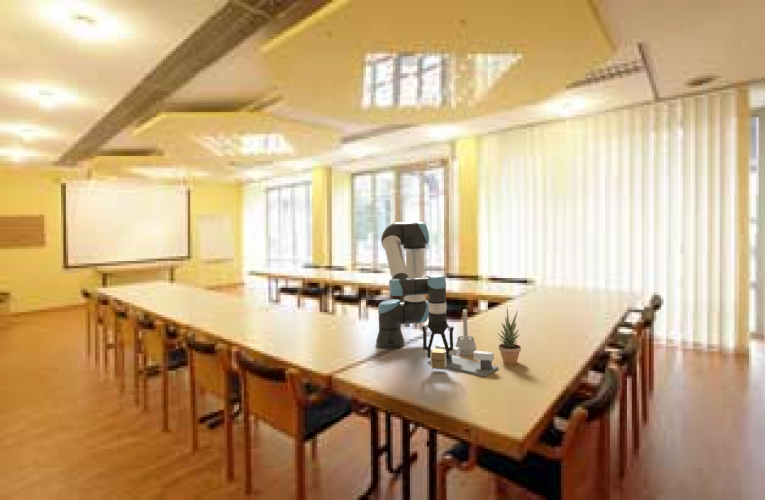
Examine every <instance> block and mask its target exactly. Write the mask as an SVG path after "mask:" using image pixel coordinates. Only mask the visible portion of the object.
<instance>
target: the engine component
mask: <svg viewBox="0 0 765 500" xmlns="http://www.w3.org/2000/svg"><path fill="white" fill-rule="evenodd" d="M462 325H463V326H462V327H463V331H462V332H463V335H459V336H458V337H457V341H456V342H455V343H456V344H455V347H458V348H460V355H466V356H467V355H473V353H474V351H477V344H476V342H475V337H474V336H471V335H468V309H462Z"/></svg>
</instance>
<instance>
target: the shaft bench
mask: <svg viewBox="0 0 765 500" xmlns="http://www.w3.org/2000/svg"><path fill="white" fill-rule="evenodd" d="M479 361H480V362H478V361H476V360H474V361H473V360H470V359H465V358H461V357H457V356H453V355H449V359H447V366H446V367H444V369H449V370H454V371H458V372H461V373H465V374H469V375H470V374H471V375H475V376H477V377H478V376H479V377H482V378H485V377H487V376H488V375H491V374H492V373H493V372H495V371H497V370H499V366H497V365H493V363H492V362H493V361H483V360H479ZM427 363H428V364H429V365H430V360H429V361H428V362H427Z"/></svg>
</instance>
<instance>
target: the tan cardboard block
mask: <svg viewBox="0 0 765 500" xmlns="http://www.w3.org/2000/svg"><path fill="white" fill-rule="evenodd" d="M431 350H432V367H431V368H432V369H433V370H434V369H435V370H436V369H437V370H445V364H444V351H445V349H435V348H432V349H431Z"/></svg>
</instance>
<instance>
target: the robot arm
mask: <svg viewBox="0 0 765 500" xmlns="http://www.w3.org/2000/svg"><path fill="white" fill-rule="evenodd" d="M429 233H430V232H429V229H428V226H427V224H426V223H425V222H423V221H407V222H406V221H404V222H402V221H401V222H399V221H398V222H393V223H391V224H389V225H388V226H387V227H386V228H385V229H384V231H383V233H382V235H381V239H380V240H381V247H382V248H383V249H384V250H385V254H386V260H387V264H388V269H389V271H390V276H391V279H390V280H389V281H388V289H389V294H390V295H391V296H392V297H403V301H402V302H401V300H400V299H388V300H384V301H381V302H380V303H379V304H378V305H377V306H378V307H377V308H378V309H377V314H378V333H377V337H376V340H375V342H376V343H375V345H376V347H378V348H381V349H397V348H401V347H403V346H405V338H404V335H403V332H402V327H401V326H402V325H409V324H412V325H413V324H417V325H418V324H421V323H426V322H427V321H428V323H427V324H425V325H424V324H423V325H422V326H421V331H422V336H423V337H422V348H423V349H422V350H424V351H427V359H429V361H430V364H429V365H430V367H431V368H432V350H433V349H431V348H432V345H433V341H434V336H435V335H440V336H441V339H442V342H443V343H442V344H443V345H444V346H445V349H446V350H445V351H444V364H445V367H446V366H447V359H449V351H452V350H453V347H454V333H453V332H454V330H455V329H454V328H455V327H454V326H453V325H449V324H448V322H447V319H448V318H447V281H446V276H444V275H441V274H432V275H426V276H424V275H423V274H424V273H423V272H424V269H423V267H424V266H423V264H424V263H423V261H424V260H423V251H424V250H425V249H426V245H429V242H430V234H429ZM401 246H402V248H403V250H405V253H406V254H405V259H404V255H403V252H402V248H401ZM425 295H427V298H426V297H425ZM426 299H428V300H426ZM428 329H429V330H430V332H431V333H430V338H429V341H428V340H427V331H428ZM446 330H447V331H448V332H449V344H448V341H447V337H446V334H445V333H446V332H445V331H446ZM427 341H428V343H427ZM427 344H428V345H427ZM448 346H450V347H448ZM445 367H444V368H445Z"/></svg>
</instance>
